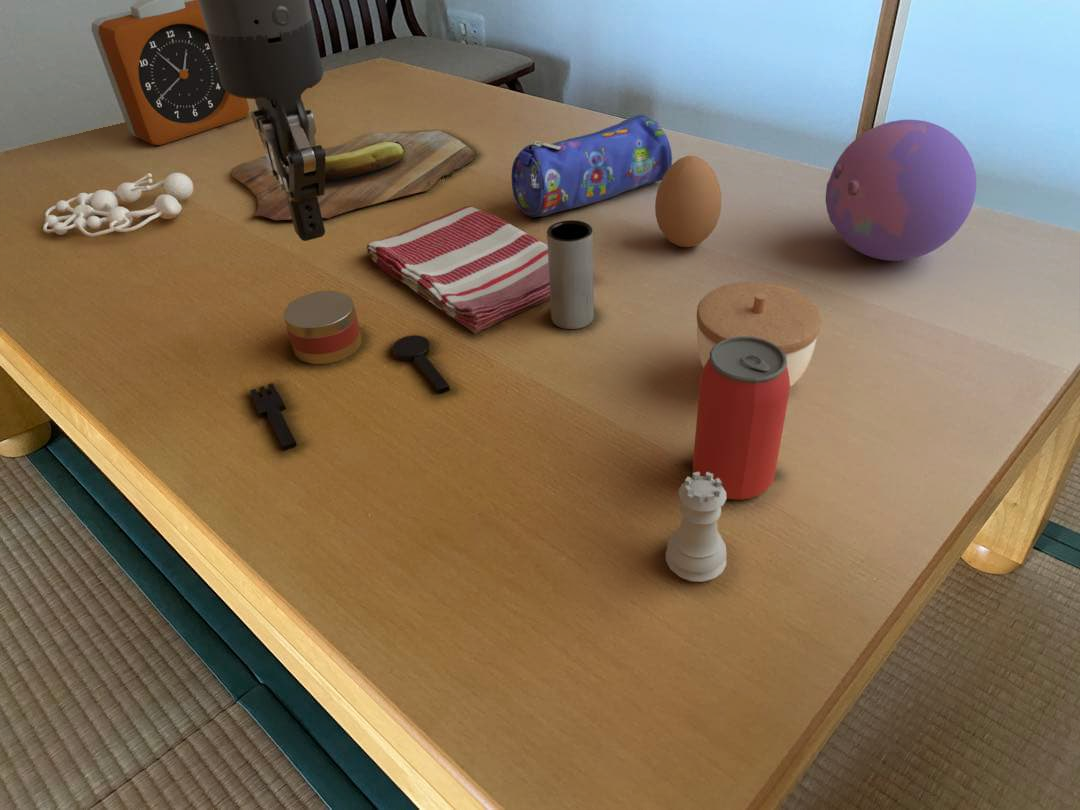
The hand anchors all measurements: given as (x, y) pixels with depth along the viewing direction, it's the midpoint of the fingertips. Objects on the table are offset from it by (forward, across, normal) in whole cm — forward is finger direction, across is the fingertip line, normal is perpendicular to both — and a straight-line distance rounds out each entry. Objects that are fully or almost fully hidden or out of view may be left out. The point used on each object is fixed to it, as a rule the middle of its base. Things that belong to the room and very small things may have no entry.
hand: (311, 235), depth 70 cm
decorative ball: (+16, +10, +62) cm, 65 cm away
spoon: (+16, +1, +8) cm, 18 cm away
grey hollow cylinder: (+16, +2, +24) cm, 29 cm away
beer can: (+16, +30, +23) cm, 41 cm away
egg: (+16, -4, +44) cm, 47 cm away
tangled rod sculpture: (+16, -53, -14) cm, 57 cm away
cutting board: (+16, -50, +19) cm, 56 cm away
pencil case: (+16, -22, +42) cm, 50 cm away
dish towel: (+16, -14, +20) cm, 29 cm away
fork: (+16, +1, -7) cm, 18 cm away
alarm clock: (+16, -86, +1) cm, 87 cm away
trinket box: (+16, +21, +33) cm, 42 cm away
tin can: (+16, -8, 0) cm, 18 cm away
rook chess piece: (+16, +36, +15) cm, 42 cm away
